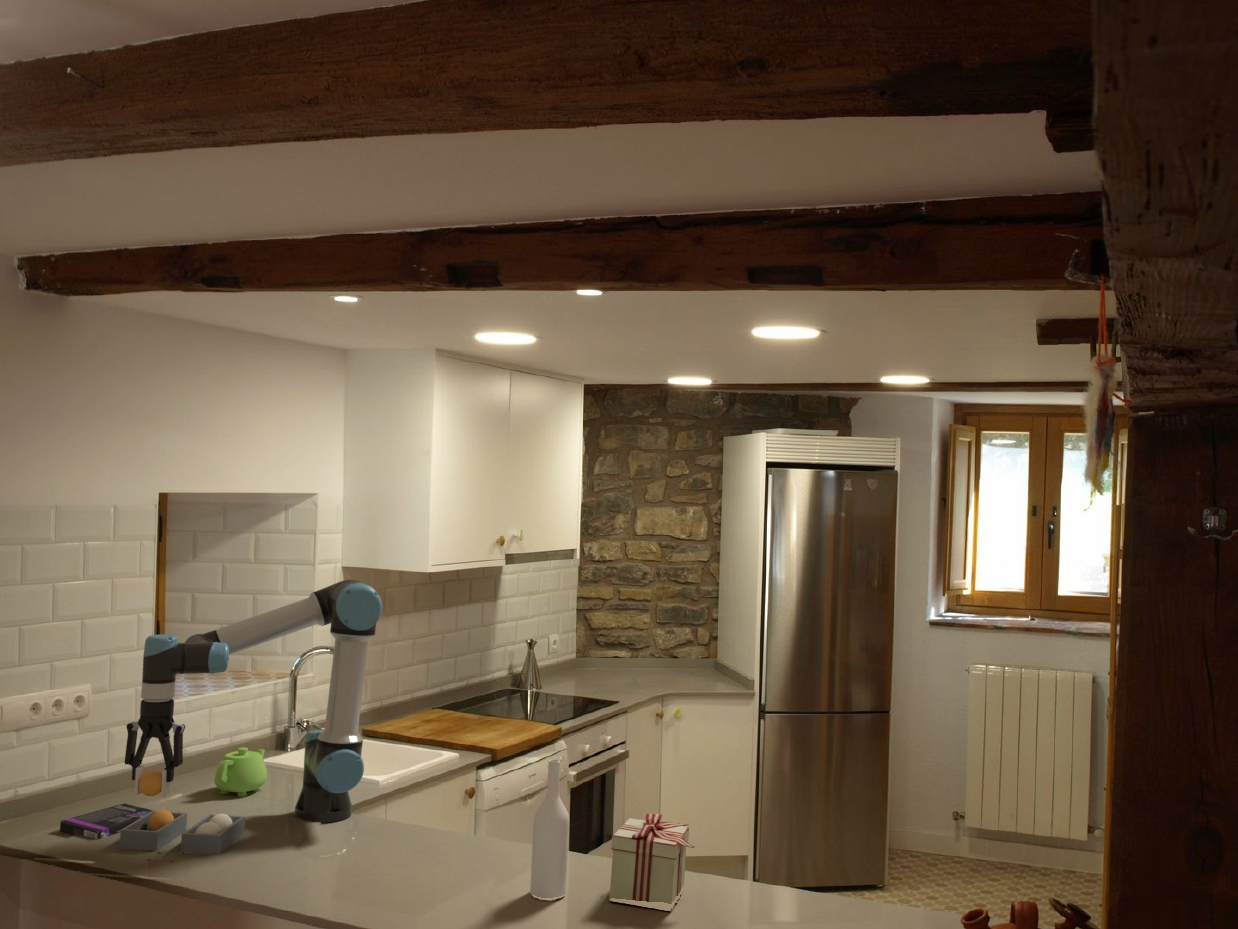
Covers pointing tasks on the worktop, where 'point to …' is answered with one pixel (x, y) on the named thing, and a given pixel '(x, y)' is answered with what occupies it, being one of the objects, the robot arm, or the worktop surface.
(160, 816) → the orange ball
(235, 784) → the teapot
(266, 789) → the worktop surface
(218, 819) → the cream ball
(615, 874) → the gift box
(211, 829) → the cream ball
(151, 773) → the orange ball
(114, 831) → the box
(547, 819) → the bottle
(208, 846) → the ball tray
